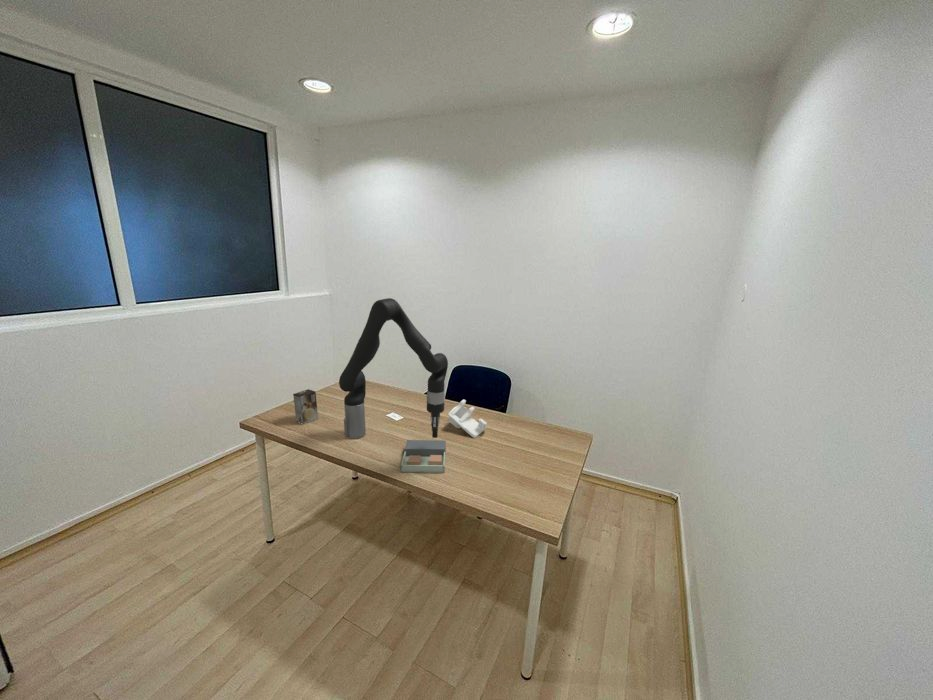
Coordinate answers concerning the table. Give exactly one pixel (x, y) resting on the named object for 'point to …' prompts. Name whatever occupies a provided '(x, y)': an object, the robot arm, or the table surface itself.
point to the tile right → (435, 459)
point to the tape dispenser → (466, 420)
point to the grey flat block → (425, 447)
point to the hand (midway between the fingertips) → (434, 437)
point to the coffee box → (305, 406)
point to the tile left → (414, 460)
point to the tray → (422, 465)
